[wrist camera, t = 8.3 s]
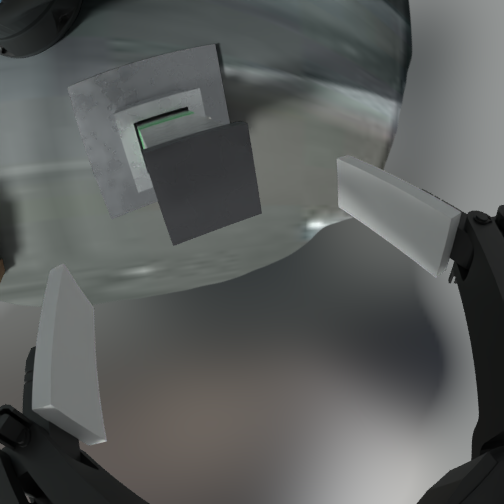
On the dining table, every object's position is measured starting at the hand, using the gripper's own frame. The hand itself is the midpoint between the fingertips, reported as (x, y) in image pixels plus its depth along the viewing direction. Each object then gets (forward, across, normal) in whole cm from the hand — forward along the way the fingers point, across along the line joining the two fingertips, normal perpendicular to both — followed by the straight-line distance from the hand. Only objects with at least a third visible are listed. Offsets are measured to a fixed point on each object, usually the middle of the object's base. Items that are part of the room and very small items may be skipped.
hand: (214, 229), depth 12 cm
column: (+27, +1, -1) cm, 27 cm away
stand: (+34, +1, -1) cm, 35 cm away
